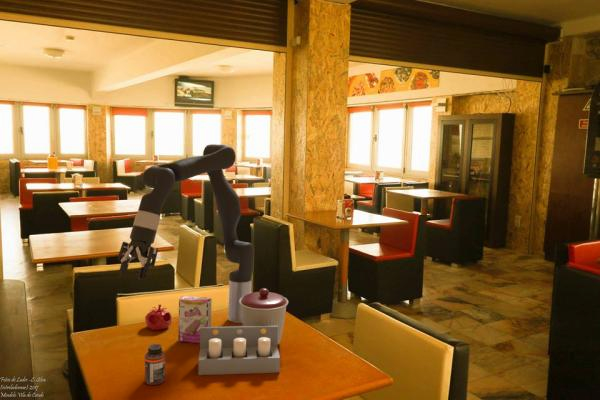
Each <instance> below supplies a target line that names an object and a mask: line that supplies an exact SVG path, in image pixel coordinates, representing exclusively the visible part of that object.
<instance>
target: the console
mask: <svg viewBox="0 0 600 400" xmlns="http://www.w3.org/2000/svg"><path fill="white" fill-rule="evenodd" d="M261 337H267V338H270V355H269V356H267V357H261V356H259V355H258V339H259V338H261ZM213 338H218V339H221V356H220V357H219V358H210V357H209V340H210V339H213ZM236 338H244V339H246V355H245V356H244V357H235V356H234V355H233V353H234V339H236ZM277 342H278V326H243V325H237V326H236V325H235V326H234V325H233V326H211V327H201V331H200V343H199V346H200V347H199V348H200V349H199V356H198V370H197V371H198V373H197V374H198V376H206V375H207V376H210V375H214V376H215V375H237V374H238V375H239V374H240V375H241V374H243V375H246V374H268V373H269V374H270V373H272V374H273V373H280V370H281V356H280V352H279V351H280V350H279V347H278V345H277Z"/></svg>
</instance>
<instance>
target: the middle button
mask: <svg viewBox="0 0 600 400" xmlns="http://www.w3.org/2000/svg"><path fill="white" fill-rule="evenodd" d="M233 355H234V356H235V357H244V356H245V355H246V339H244V338H236V339H234V353H233Z"/></svg>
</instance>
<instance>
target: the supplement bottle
mask: <svg viewBox="0 0 600 400" xmlns="http://www.w3.org/2000/svg"><path fill="white" fill-rule="evenodd" d="M165 379H166V353H165V352H164V351H163V348H162V344H159V343H152V344H150V345H149V346H148V347H147V352H146V353H145V354H144V382H145V383H146V384H147V385H150V386H157V385H160V384H162V383H163V382H164V381H165Z"/></svg>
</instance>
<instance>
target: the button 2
mask: <svg viewBox="0 0 600 400" xmlns="http://www.w3.org/2000/svg"><path fill="white" fill-rule="evenodd" d="M258 355H259V356H261V357H267V356H269V355H270V338H267V337H261V338H259V339H258Z"/></svg>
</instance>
